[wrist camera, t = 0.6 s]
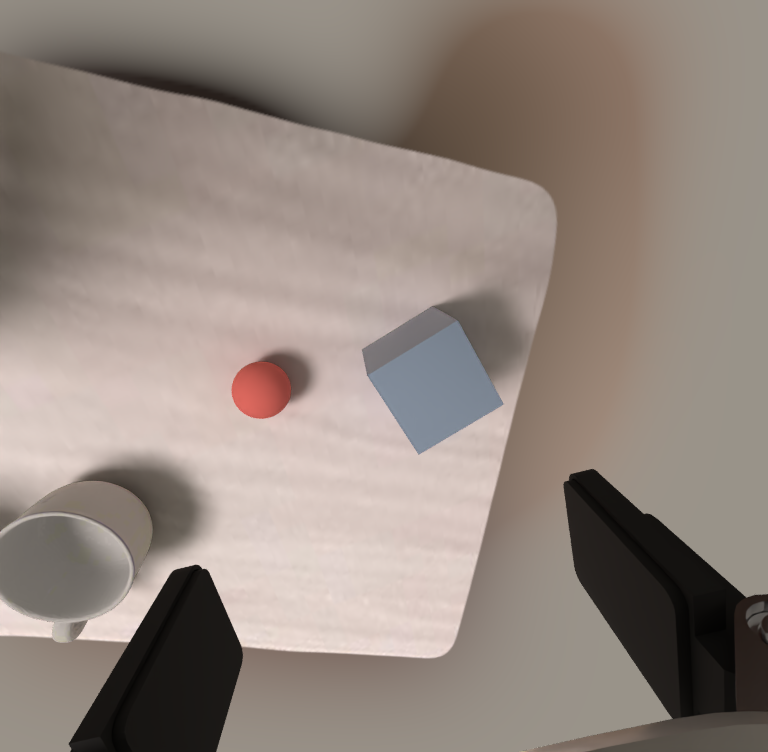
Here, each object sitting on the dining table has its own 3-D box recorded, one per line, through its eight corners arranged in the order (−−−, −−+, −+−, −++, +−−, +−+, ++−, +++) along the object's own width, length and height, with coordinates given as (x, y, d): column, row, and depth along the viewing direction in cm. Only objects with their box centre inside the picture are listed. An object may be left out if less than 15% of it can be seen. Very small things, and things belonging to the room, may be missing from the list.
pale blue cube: (403, 414, 41) (418, 454, 33) (362, 349, 39) (367, 375, 31) (470, 373, 41) (503, 404, 33) (432, 306, 39) (457, 320, 30)
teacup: (64, 451, 39) (-3, 498, 32) (181, 485, 41) (144, 538, 34) (33, 569, 42) (-35, 638, 35) (143, 596, 44) (102, 666, 37)
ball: (260, 416, 40) (249, 438, 35) (228, 374, 39) (212, 390, 34) (304, 389, 40) (299, 407, 35) (273, 345, 38) (263, 358, 34)
